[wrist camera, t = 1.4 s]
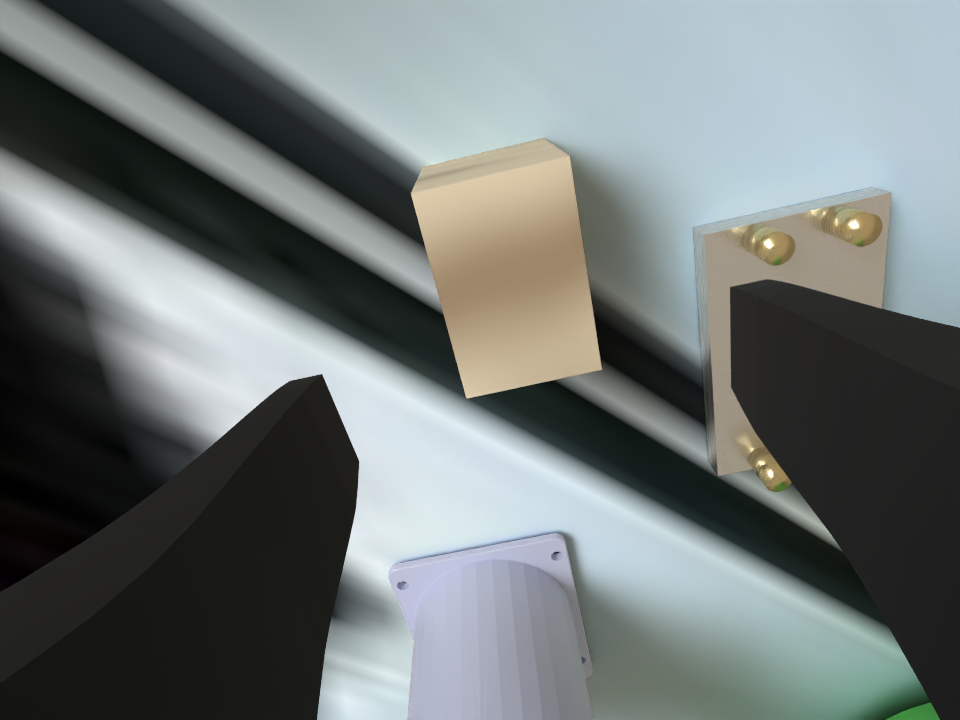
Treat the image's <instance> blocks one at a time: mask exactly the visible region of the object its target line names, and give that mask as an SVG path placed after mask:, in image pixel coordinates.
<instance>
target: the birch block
mask: <svg viewBox="0 0 960 720" xmlns="http://www.w3.org/2000/svg"><path fill="white" fill-rule="evenodd" d="M411 196H412V199H413V203H414V207H415V210H416V214H417V218H418V221H419V225H420V229H421V232H422V236H423V240H424V244H425V247H426V251H427V255H428V258H429V262H430V266H431V269H432V273H433V277H434V280H435V284H436V288H437V291H438V295H439V299H440V302H441V306H442V310H443V314H444V317H445V321H446V325H447V328H448V332H449V336H450V339H451V343H452V347H453V350H454V354H455V358H456V361H457V365H458V369H459V372H460V376H461V380H462V383H463V387H464V391H465V395H466V398H471V397H476V396H481V395H485V394H490V393H495V392H500V391H504V390H509V389H514V388H518V387H523V386H528V385H533V384H537V383H542V382H547V381H551V380H556V379H561V378H566V377H570V376H575V375H580V374H584V373H589V372H594V371H598V370H602V368H601V361H600V354H599V348H598V341H597V334H596V328H595V321H594V314H593V308H592V301H591V294H590V288H589V281H588V275H587V268H586V261H585V255H584V248H583V241H582V235H581V228H580V221H579V215H578V208H577V201H576V195H575V188H574V181H573V175H572V168H571V162H570V156H569V155H568V154H566V153H565V152H563V151H562V150H561V149H559V148H558V147H556V146H555V145H553V144H552V143H550V142H549V141H548V140H546V139H545V138H541V139H537V140H533V141H529V142H525V143H521V144H516V145H512V146H508V147H504V148H500V149H496V150H492V151H487V152H483V153H479V154H475V155H471V156H467V157H463V158H459V159H454V160H450V161H446V162H442V163H438V164H434V165H430V166H426V167H423V168H422V170H421V172H420V174H419V177H418V179H417V181H416V183H415V186H414V188H413V190H412V193H411Z"/></svg>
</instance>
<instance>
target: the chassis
mask: <svg viewBox="0 0 960 720" xmlns="http://www.w3.org/2000/svg"><path fill="white" fill-rule="evenodd" d="M890 204H891V192H888V191H884V190H880V189H876V188H873V187H871V188H866V189H862V190H857V191H853V192H849V193H844V194H840V195H835V196H831V197H827V198H822V199H818V200H813V201H809V202H805V203H800V204H796V205H791V206H787V207H783V208H778V209H774V210H769V211H765V212H761V213H756V214H752V215H748V216H743V217H739V218H734V219H730V220H726V221H721V222H717V223H712V224H708V225H704V226H699V227H695V228H693V235H694V250H695V266H696V281H697V296H698V311H699V327H700V342H701V357H702V372H703V388H704V403H705V418H706V433H707V449H708V462H709V463H710V465H711V466H712V468H713V469H714V471H715V472H716V474H717V475H718V476H721V475H726V474H731V473H736V472H741V471H746V470H751V469H753V470H754V471H755V473H756V474H757V475H758V477H759V478H760V479H761V481H762V482H763V483H764V485H765V486H766V487H767V489H768V490H770V491H773V492H779V491H783V490H785V489H786V488H788V487H789V486H790V484H791V483H792V482H791V481H790V479H789V478H788V477H787V475H786V474H785V473H784V471H783V470H782V469H781V467H780V466H779V465H778V463H777V462H776V460H775V459H774V458H773V456H772V455H771V454H770V452H769V451H768V450H767V448H766V447H765V446H764V444H763V443H762V441H761V440H760V439H759V437H758V436H757V435H756V433H755V431H754V430H753V428H752V426H751V424H750V422H749V421H748V419H747V417H746V415H745V414H744V412H743V410H742V408H741V406H740V404H739V402H738V400H737V398H736V396H735V394H734V392H733V390H732V388H731V345H730V287H732V286H737V285H742V284H746V283H751V282H756V281H760V280H765V279H770V280H777V281H782V282H786V283H791V284H795V285H799V286H802V287H806V288H810V289H814V290H817V291H821V292H824V293H828V294H831V295H835V296H838V297H842V298H845V299H849V300H852V301H856V302H860V303H863V304H867V305H870V306H874V307H877V308H881V309H882V301H883V289H884V277H885V265H886V253H887V240H888V228H889V216H890Z"/></svg>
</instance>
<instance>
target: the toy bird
mask: <svg viewBox="0 0 960 720" xmlns="http://www.w3.org/2000/svg"><path fill="white" fill-rule="evenodd" d="M886 720H940V719H939V717H938V715H937V713H936V711H935V709H934V708H933V706H932V704H931V703H927V704H923V705H920V706H916V707H913V708H910V709H908V710H905V711H903V712H900V713H898V714H896V715H894V716H892V717H890V718H888V719H886Z"/></svg>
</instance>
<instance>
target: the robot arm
mask: <svg viewBox="0 0 960 720" xmlns="http://www.w3.org/2000/svg"><path fill="white" fill-rule="evenodd" d="M730 345H731V388H732V390H733V392H734V394H735V396H736V398H737V400H738V402H739V404H740V406H741V408H742V410H743V412H744V414H745V415H746V417H747V419H748V421H749V422H750V424H751V426H752V428H753V430H754V431H755V433H756V435H757V436H758V437H759V439H760V440H761V441H762V443H763V444H764V446H765V447H766V448H767V450H768V451H769V452H770V454H771V455H772V456H773V458H774V459H775V460H776V462H777V463H778V465H779V466H780V467H781V469H782V470H783V471H784V473H785V474H786V475H787V477H788V478H789V479H790V481H791V482H792V483H793V484H794V486H795V487H796V488H797V490H798V491H799V492H800V494H801V495H802V496H803V498H804V499H805V500H806V502H807V503H808V504H809V506H810V507H811V508H812V510H813V511H814V512H815V514H816V515H817V516H818V518H819V519H820V520H821V522H822V523H823V524H824V526H825V527H826V528H827V530H828V531H829V532H830V534H831V535H832V536H833V538H834V539H835V541H836V542H837V544H838V545H839V546H840V548H841V549H842V551H843V552H844V554H845V555H846V557H847V558H848V560H849V561H850V563H851V564H852V566H853V568H854V569H855V571H856V573H857V574H858V576H859V578H860V579H861V581H862V583H863V584H864V586H865V588H866V589H867V591H868V593H869V594H870V596H871V598H872V599H873V601H874V603H875V604H876V606H877V608H878V609H879V611H880V613H881V614H882V616H883V618H884V619H885V621H886V623H887V625H888V627H889V628H890V630H891V632H892V634H893V635H894V637H895V639H896V641H897V642H898V644H899V646H900V648H901V650H902V651H903V653H904V655H905V657H906V658H907V660H908V662H909V664H910V665H911V667H912V669H913V671H914V673H915V674H916V676H917V678H918V680H919V681H920V683H921V685H922V687H923V689H924V691H925V692H926V694H927V696H928V698H929V700H930V702H931V704H932V706H933V708H934V709H935V711H936V713H937V715H938V717H939V719H940V720H960V328H958V327H954V326H950V325H945V324H941V323H937V322H932V321H928V320H924V319H919V318H916V317H912V316H908V315H904V314H900V313H896V312H892V311H889V310H885V309H881V308H877V307H874V306H870V305H867V304H863V303H860V302H856V301H852V300H849V299H845V298H842V297H838V296H835V295H831V294H828V293H824V292H821V291H817V290H814V289H810V288H806V287H802V286H799V285H795V284H791V283H786V282H782V281H777V280H770V279H765V280H760V281H756V282H751V283H746V284H742V285H737V286H732V287H730ZM358 473H359V460H358V458H357V455H356V453H355V451H354V448H353V446H352V444H351V441H350V439H349V437H348V434H347V432H346V429H345V427H344V425H343V422H342V420H341V418H340V415H339V413H338V411H337V408H336V406H335V404H334V401H333V399H332V397H331V394H330V392H329V389H328V387H327V385H326V382H325V380H324V378H323V375H322V374H321V375H316V376H312V377H307V378H302V379H298V380H293V381H289V382H288V383H286V384H285V385H283V386H282V387H280V388H279V389H278V390H276V391H275V392H274V393H272V394H271V395H270V396H269V397H268V398H266V399H265V400H264V401H263V402H262V403H260V404H259V405H258V406H257V407H256V408H254V409H253V410H252V411H251V412H250V413H249V414H248V415H246V416H245V417H244V418H243V419H242V420H241V421H240V422H238V423H237V424H236V425H235V426H234V427H233V428H231V429H230V430H229V431H228V432H227V433H226V434H225V435H223V436H222V437H221V438H220V439H219V440H218V441H217V442H215V443H214V444H213V445H212V446H211V447H210V448H208V449H207V450H206V451H205V452H204V453H202V454H201V455H200V456H199V457H197V458H196V459H195V460H194V461H192V462H191V463H190V464H189V465H188V466H186V467H185V468H184V469H183V470H181V471H180V472H179V473H178V474H177V475H175V476H174V477H173V478H172V479H170V480H169V481H168V482H167V483H165V484H164V485H163V486H162V487H161V488H159V489H158V490H157V491H155V492H154V493H153V494H151V495H150V496H149V497H147V498H146V499H145V500H143V501H142V502H141V503H139V504H138V505H137V506H135V507H134V508H132V509H131V510H130V511H128V512H127V513H125V514H124V515H122V516H121V517H120V518H118V519H117V520H115V521H114V522H112V523H111V524H109V525H108V526H107V527H105V528H104V529H102V530H101V531H99V532H98V533H96V534H95V535H93V536H92V537H90V538H89V539H87V540H86V541H84V542H83V543H81V544H80V545H78V546H76V547H75V548H73V549H71V550H70V551H68V552H66V553H65V554H63V555H62V556H60V557H58V558H57V559H55V560H53V561H52V562H50V563H48V564H47V565H45V566H44V567H42V568H40V569H39V570H37V571H35V572H34V573H32V574H31V575H29V576H27V577H26V578H24V579H22V580H21V581H19V582H17V583H16V584H14V585H12V586H11V587H9V588H7V589H5V590H4V591H2V592H0V720H317V713H318V704H319V696H320V688H321V679H322V671H323V663H324V654H325V648H326V642H327V637H328V632H329V626H330V621H331V617H332V613H333V608H334V604H335V600H336V595H337V591H338V587H339V582H340V578H341V574H342V569H343V565H344V561H345V556H346V552H347V547H348V543H349V538H350V534H351V529H352V525H353V520H354V515H355V510H356V500H357V489H358ZM554 552H560V553H558V554H553V553H554ZM388 576H389V580H390V583H391V585H392V588H393V590H394V593H395V595H396V598H397V600H398V603H399V605H400V608H401V610H402V613H403V615H404V618H405V620H406V623H407V625H408V628H409V630H410V633H411V635H412V638H413V640H414V645H413V657H412V669H411V681H410V693H409V705H408V717H407V720H594V717H593V712H592V707H591V702H590V697H589V693H588V688H587V683H586V679H588V678H590V677H591V676H592V674H593V668H592V663H591V658H590V654H589V649H588V644H587V640H586V635H585V630H584V626H583V621H582V616H581V611H580V607H579V602H578V597H577V593H576V588H575V583H574V578H573V574H572V569H571V564H570V560H569V555H568V550H567V546H566V541H565V538H564V537H563V536H562V535H561V534H557V533H552V534H547V535H542V536H537V537H532V538H526V539H521V540H516V541H511V542H506V543H501V544H496V545H490V546H485V547H480V548H475V549H470V550H465V551H460V552H454V553H449V554H444V555H439V556H434V557H429V558H424V559H418V560H413V561H408V562H403V563H398V564H395V565H393V566H392V567H391V568H390V570H389V575H388ZM401 581H404V582H407V583H401Z"/></svg>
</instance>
